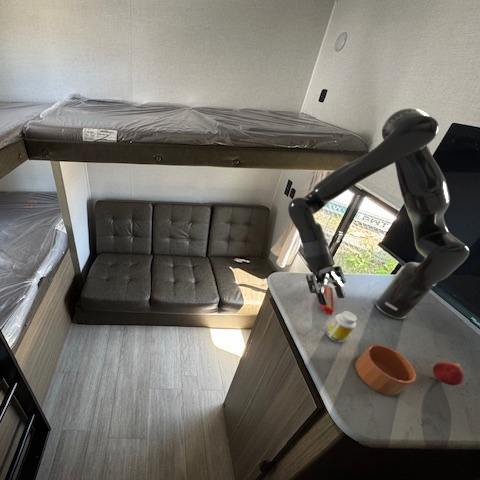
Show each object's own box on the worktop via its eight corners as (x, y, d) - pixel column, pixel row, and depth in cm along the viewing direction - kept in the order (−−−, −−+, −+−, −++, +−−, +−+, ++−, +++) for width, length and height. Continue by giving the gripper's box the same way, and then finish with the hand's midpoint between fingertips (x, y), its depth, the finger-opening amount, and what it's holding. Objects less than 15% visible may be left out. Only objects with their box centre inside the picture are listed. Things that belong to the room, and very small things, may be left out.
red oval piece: (457, 392, 71) (479, 378, 67) (435, 387, 72) (455, 373, 68) (443, 372, 76) (462, 357, 71) (422, 368, 77) (440, 353, 72)
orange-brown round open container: (369, 352, 80) (381, 339, 76) (408, 386, 72) (424, 373, 68) (346, 364, 76) (358, 351, 72) (385, 402, 68) (401, 389, 64)
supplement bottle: (348, 341, 83) (364, 322, 77) (334, 344, 82) (349, 324, 76) (335, 327, 87) (349, 307, 82) (321, 329, 86) (335, 310, 80)
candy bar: (331, 317, 91) (335, 312, 89) (320, 313, 92) (323, 308, 91) (330, 289, 103) (333, 284, 101) (320, 286, 104) (323, 281, 102)
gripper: (312, 256, 79) (329, 307, 77) (342, 247, 84) (358, 295, 82) (293, 259, 86) (308, 306, 84) (322, 251, 91) (336, 295, 89)
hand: (333, 301), depth 83 cm, fingers open, 8 cm apart
